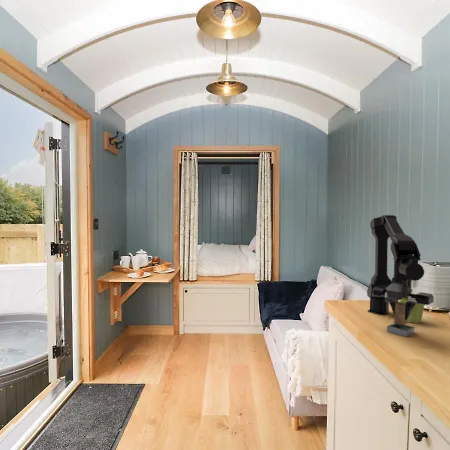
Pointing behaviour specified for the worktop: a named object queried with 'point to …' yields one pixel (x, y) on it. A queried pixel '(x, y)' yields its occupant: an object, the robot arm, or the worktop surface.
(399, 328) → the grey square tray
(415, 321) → the plant pot
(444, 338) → the worktop surface
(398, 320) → the brown wooden block
